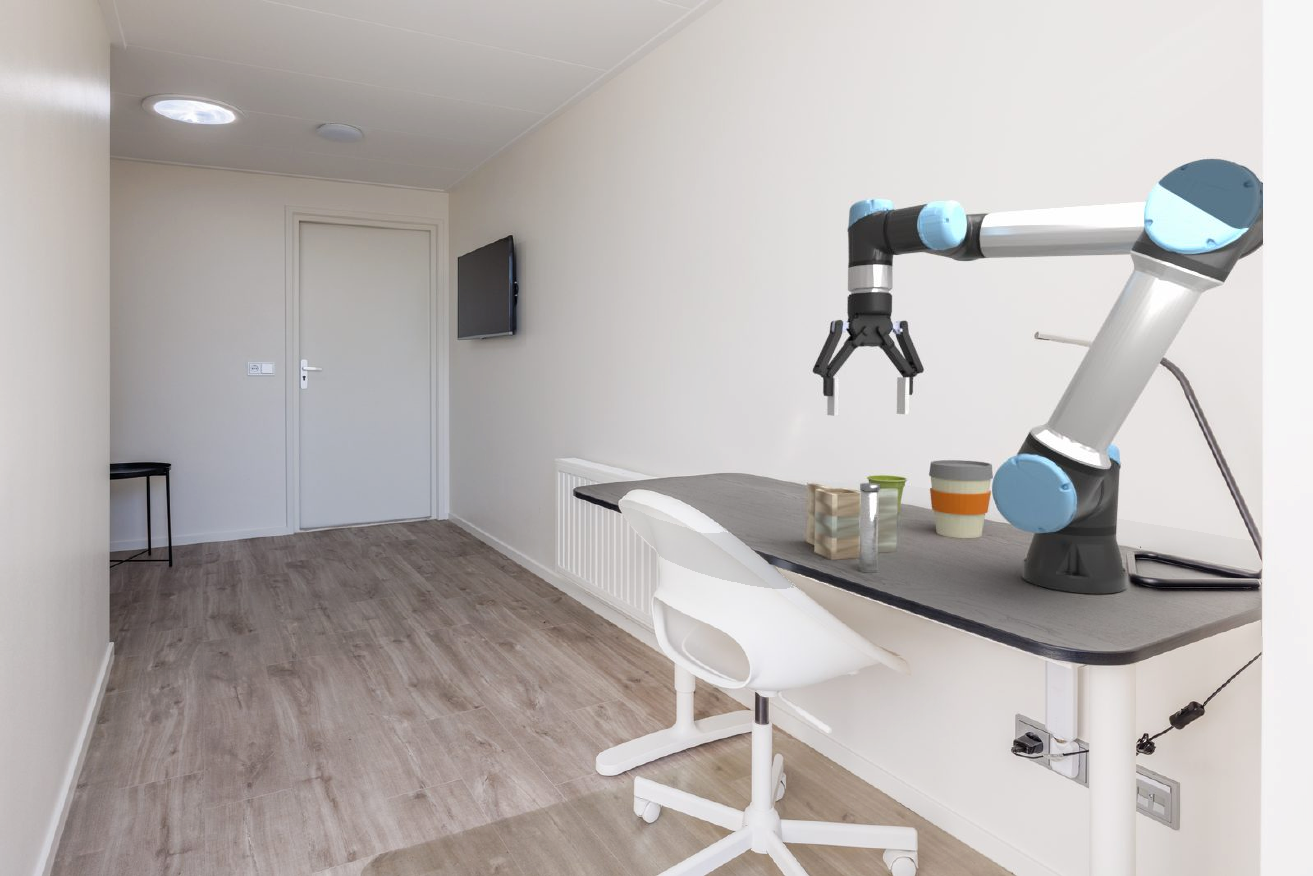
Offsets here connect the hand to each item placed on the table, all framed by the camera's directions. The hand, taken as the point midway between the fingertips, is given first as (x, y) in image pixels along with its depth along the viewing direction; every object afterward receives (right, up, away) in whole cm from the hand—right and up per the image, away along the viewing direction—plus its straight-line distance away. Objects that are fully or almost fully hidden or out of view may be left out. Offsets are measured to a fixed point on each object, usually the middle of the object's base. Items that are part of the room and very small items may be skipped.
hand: (868, 414), depth 138 cm
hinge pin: (-1, -27, -3) cm, 27 cm away
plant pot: (+19, -23, +53) cm, 60 cm away
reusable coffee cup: (+27, -25, +28) cm, 46 cm away
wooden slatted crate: (0, -26, +14) cm, 29 cm away
